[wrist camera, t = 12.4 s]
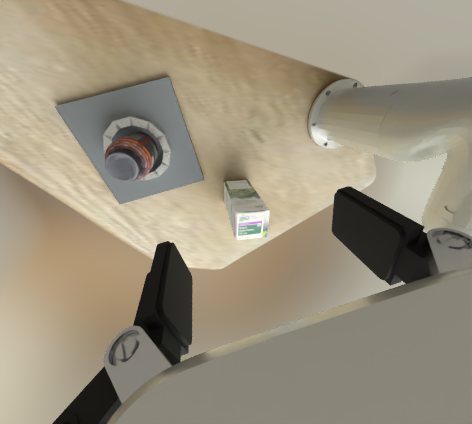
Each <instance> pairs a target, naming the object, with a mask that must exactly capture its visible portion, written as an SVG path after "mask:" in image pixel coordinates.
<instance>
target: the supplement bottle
mask: <svg viewBox="0 0 472 424" xmlns="http://www.w3.org/2000/svg"><path fill="white" fill-rule="evenodd" d="M158 153H159V152H158V146H157V144H156V142H155V141H154V139H153V138H151V137H150V136H149V135H147V134H145V133H143V132H132V133H129V134H127V135H125V136H123V137H122V138H120V139H118V140H116V141H114V142H113V143H111V144H110V145H109V146H108V148H107V149H106V151H105V168H106V170H107V172H108V173H109V175H110V176H111V177H113V178H114V179H116V180H118V181H122V182H128V181H136V180H140V179H142V178H144V177H145V176H146V175H147V174H148V173H149V171H150V170H151V168H152V166H153V164H154V163H155V161H156V160H157V157H158Z"/></svg>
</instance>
